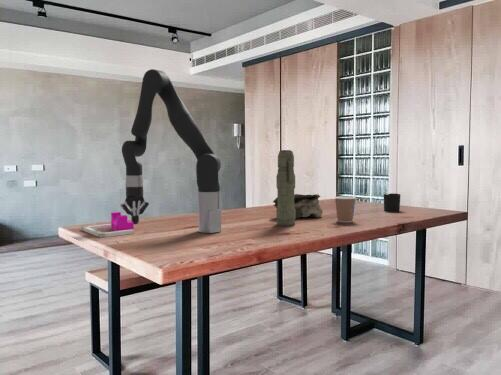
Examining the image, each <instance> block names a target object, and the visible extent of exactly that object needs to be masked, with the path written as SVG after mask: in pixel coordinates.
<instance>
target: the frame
mask: <svg viewBox="0 0 501 375" xmlns="http://www.w3.org/2000/svg"><path fill="white" fill-rule="evenodd" d="M102 229H103V230H105V229H112V228H111V223H106V224H99V225H87V226H81V231H82V232H85V233H88V234H90V235H93V236H96V237H97V238H101V239H102V238H108V237H110V238H111V237H115V236H117V237H118V236H125V235H134V234H135V229H134V230H132V229H131V230H123V231H114V230H113V231H108V232H103V231H100V230H102Z"/></svg>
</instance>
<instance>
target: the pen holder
mask: <svg viewBox="0 0 501 375" xmlns="http://www.w3.org/2000/svg"><path fill="white" fill-rule="evenodd" d="M383 210H384V212H390V213H392V212H393V213H397V212H399V211H400V210H401V194H400V193H388V194H387V193H383Z"/></svg>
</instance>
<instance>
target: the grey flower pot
mask: <svg viewBox="0 0 501 375" xmlns="http://www.w3.org/2000/svg"><path fill="white" fill-rule="evenodd" d="M334 198H335V200H334V201H335V207H336V219H337V221H338V222H339V223H352V222H353V220H354V213H355V206H356V199H357V197H356V196H347V195H346V196H345V195H342V196H341V195H340V196H334Z"/></svg>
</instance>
